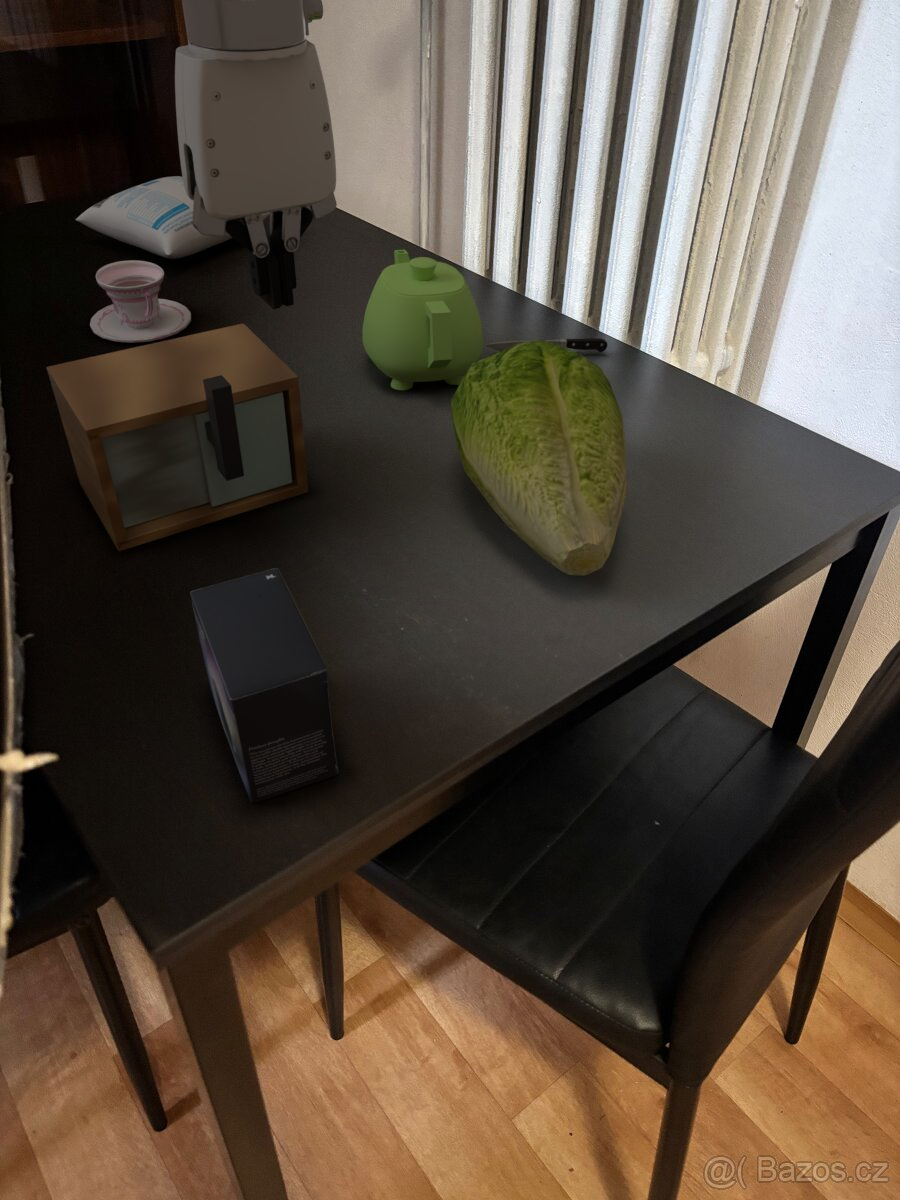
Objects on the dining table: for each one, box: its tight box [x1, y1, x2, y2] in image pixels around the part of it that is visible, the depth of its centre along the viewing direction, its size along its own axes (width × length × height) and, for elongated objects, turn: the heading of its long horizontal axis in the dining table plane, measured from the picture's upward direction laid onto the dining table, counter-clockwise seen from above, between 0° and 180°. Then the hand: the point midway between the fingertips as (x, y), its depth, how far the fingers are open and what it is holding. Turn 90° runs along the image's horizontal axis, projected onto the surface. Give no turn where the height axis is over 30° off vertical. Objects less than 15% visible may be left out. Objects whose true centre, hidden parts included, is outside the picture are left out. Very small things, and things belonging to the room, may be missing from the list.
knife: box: [484, 337, 609, 353], centre depth 107 cm, size 15×1×2 cm, turn 95°
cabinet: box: [46, 323, 309, 552], centre depth 82 cm, size 18×12×12 cm, turn 122°
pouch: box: [75, 175, 270, 260], centre depth 129 cm, size 8×19×20 cm
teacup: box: [89, 259, 192, 344], centre depth 110 cm, size 12×12×6 cm
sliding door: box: [194, 375, 292, 507], centre depth 78 cm, size 8×4×13 cm, turn 122°
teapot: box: [361, 249, 484, 391], centre depth 101 cm, size 20×13×13 cm
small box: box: [189, 567, 340, 804], centre depth 60 cm, size 11×6×10 cm, turn 25°
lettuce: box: [450, 339, 628, 576], centre depth 80 cm, size 14×24×15 cm
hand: (275, 300), depth 70 cm, fingers closed
